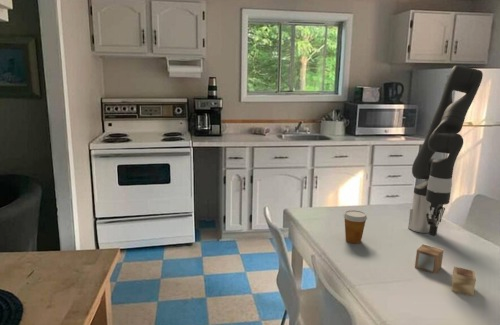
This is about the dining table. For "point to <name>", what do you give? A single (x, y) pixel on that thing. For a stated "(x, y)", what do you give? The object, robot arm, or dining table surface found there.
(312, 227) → the dining table surface
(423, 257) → the walnut block
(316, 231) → the dining table surface
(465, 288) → the oak block
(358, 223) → the disposable coffee cup
